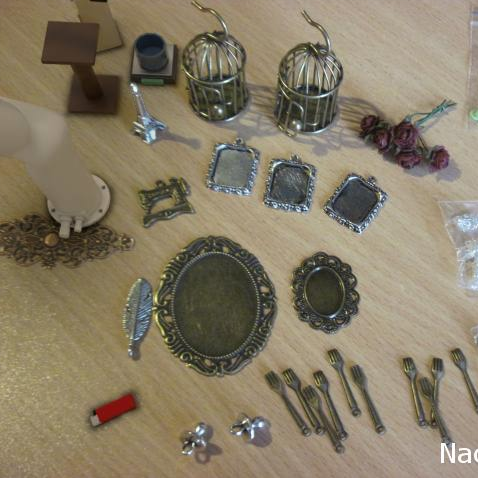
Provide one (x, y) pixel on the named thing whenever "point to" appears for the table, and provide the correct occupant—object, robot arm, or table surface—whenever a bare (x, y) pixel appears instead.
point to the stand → (80, 66)
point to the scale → (158, 75)
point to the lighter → (113, 409)
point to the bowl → (151, 51)
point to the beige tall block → (103, 16)
